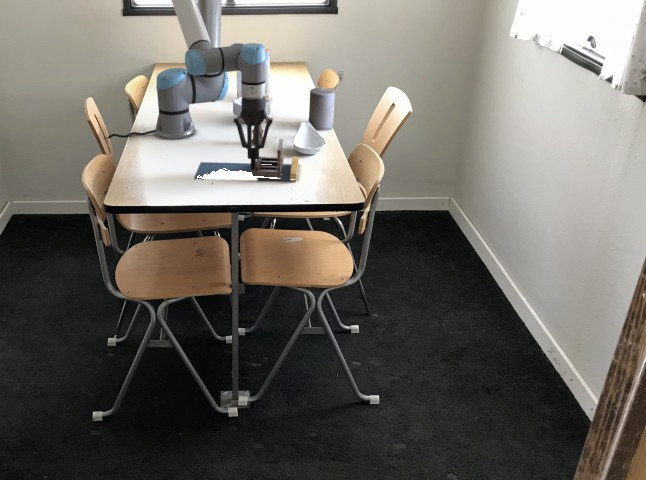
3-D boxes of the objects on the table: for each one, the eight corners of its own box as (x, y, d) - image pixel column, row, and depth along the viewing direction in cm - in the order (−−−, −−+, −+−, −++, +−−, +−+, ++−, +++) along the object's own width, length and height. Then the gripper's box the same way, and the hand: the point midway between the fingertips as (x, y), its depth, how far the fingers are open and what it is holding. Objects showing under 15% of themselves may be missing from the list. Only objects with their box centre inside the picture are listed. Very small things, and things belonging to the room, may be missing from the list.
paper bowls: (248, 112, 296) (248, 93, 292) (278, 119, 288) (278, 99, 284) (225, 121, 287) (224, 101, 282) (254, 128, 278) (254, 108, 274)
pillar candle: (303, 126, 280) (304, 87, 271) (319, 120, 285) (321, 82, 277) (322, 131, 274) (324, 92, 265) (338, 126, 280) (340, 87, 271)
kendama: (248, 147, 260) (248, 92, 249) (250, 139, 268) (250, 84, 257) (265, 148, 260) (265, 92, 248) (266, 139, 268) (266, 85, 256)
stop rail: (290, 181, 231) (290, 173, 230) (292, 164, 245) (292, 156, 243) (296, 182, 231) (296, 173, 230) (298, 164, 244) (298, 156, 243)
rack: (253, 180, 233) (253, 151, 228) (257, 164, 245) (257, 137, 239) (280, 180, 232) (281, 152, 227) (283, 165, 244) (284, 137, 238)
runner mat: (193, 180, 235) (193, 179, 235) (200, 163, 248) (200, 162, 248) (296, 183, 231) (296, 182, 231) (298, 165, 245) (298, 164, 244)
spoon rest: (328, 157, 250) (329, 137, 246) (295, 158, 250) (295, 138, 246) (316, 135, 270) (317, 117, 266) (285, 137, 269) (286, 118, 265)
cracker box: (269, 98, 312) (270, 48, 301) (268, 102, 307) (269, 51, 296) (238, 98, 314) (237, 48, 302) (236, 102, 309) (235, 51, 297)
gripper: (231, 99, 223) (232, 171, 236) (272, 100, 221) (271, 172, 235) (234, 92, 229) (235, 163, 242) (274, 93, 228) (273, 164, 241)
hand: (253, 167), depth 238 cm, fingers closed
